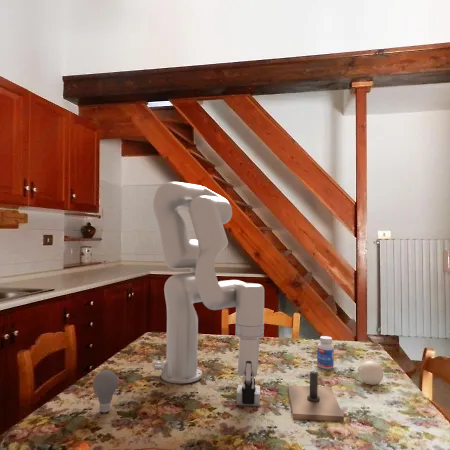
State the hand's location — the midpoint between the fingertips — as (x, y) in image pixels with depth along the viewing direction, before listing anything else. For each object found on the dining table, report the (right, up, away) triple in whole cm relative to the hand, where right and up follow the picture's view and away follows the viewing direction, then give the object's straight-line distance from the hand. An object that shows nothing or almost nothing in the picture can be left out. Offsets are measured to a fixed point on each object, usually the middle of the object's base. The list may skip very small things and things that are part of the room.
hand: (248, 397), depth 107 cm
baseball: (+37, -2, +14) cm, 40 cm away
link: (0, -1, 0) cm, 1 cm away
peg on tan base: (+17, -1, -1) cm, 17 cm away
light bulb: (-36, 0, -8) cm, 37 cm away
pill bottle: (+28, -2, +29) cm, 40 cm away
